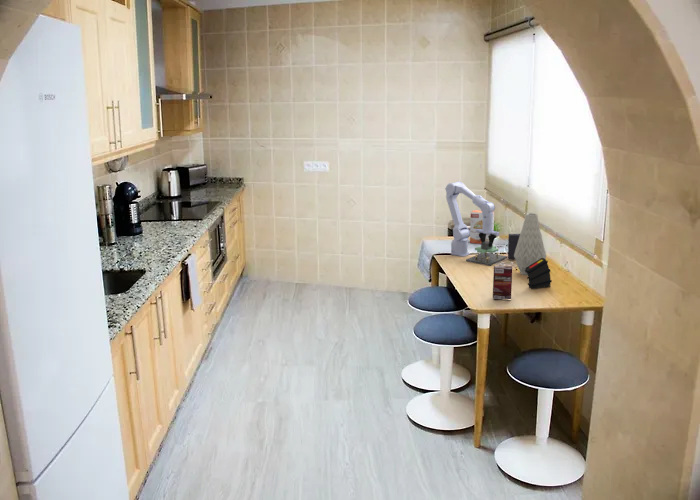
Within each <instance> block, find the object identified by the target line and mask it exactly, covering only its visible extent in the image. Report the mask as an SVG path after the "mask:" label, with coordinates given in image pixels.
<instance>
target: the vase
mask: <svg viewBox="0 0 700 500" xmlns="http://www.w3.org/2000/svg"><path fill="white" fill-rule="evenodd" d="M519 234H520V237H519V240H518V243H517V247H516V249H515V253H514V257H515V259H516V260H515V263H516V265H517V269H518V270H519V273H520V274H521V275H523V276H527V277H528V274H527V272H525V268H526V267H528V266H530V265H531V264H533V263H534V262H536V261H538V260H539V259H541V258H544V259H546V260H547V253H546V250H545V244H544V240H543V237H542V236H543V235H542V232H541V228H540V221H539V219H538V214H537V213H536V212H535V213H532V212H530V213H526V214H525V218H524V219H523V224H522V228H521V231H520V233H519Z"/></svg>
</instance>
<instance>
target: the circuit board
mask: <svg viewBox="0 0 700 500" xmlns="http://www.w3.org/2000/svg"><path fill="white" fill-rule="evenodd" d="M474 251H476V252H477V253H478V254H480V253H485V252H487V253H492V254H495V253H498V251H500V248H497V245H496V246H495V245H494V243H493V244H492V247H489V241H485V242H483V243H481V244H480V245H479V246H476V247H474Z"/></svg>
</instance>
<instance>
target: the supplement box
mask: <svg viewBox="0 0 700 500" xmlns="http://www.w3.org/2000/svg"><path fill="white" fill-rule="evenodd" d="M492 279H493V280H492V300H493V299H511V300H512V285H513V266H507V265H506V266H505V265H502V266H501V265H493V277H492Z"/></svg>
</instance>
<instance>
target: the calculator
mask: <svg viewBox="0 0 700 500" xmlns="http://www.w3.org/2000/svg"><path fill="white" fill-rule="evenodd" d="M519 237H520V233H508V239H507V240H508V242H507V243H508V244H507V245H508V246H507V248H508V249H507V256H508V258H507V259H508V260H509V261H516V259H515V257H514V253H515V249H516V247H517V243H518V240H519Z"/></svg>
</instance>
